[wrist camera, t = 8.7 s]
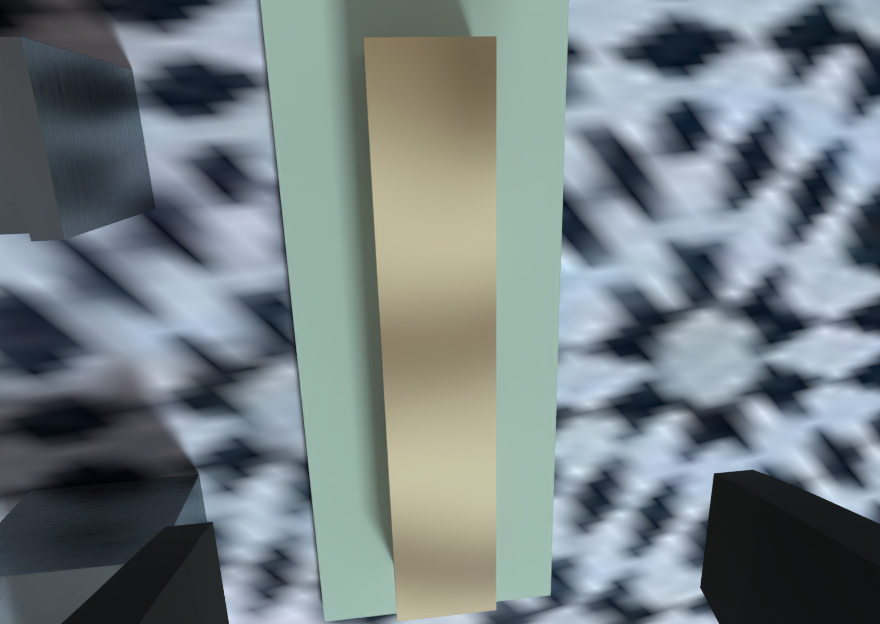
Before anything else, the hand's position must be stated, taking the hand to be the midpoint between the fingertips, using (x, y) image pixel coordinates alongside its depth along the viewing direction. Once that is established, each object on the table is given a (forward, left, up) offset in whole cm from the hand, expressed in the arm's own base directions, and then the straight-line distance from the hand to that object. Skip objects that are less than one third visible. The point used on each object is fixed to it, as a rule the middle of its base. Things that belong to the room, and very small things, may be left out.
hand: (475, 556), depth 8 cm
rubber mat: (0, 0, -10) cm, 10 cm away
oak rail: (0, 0, -10) cm, 10 cm away
